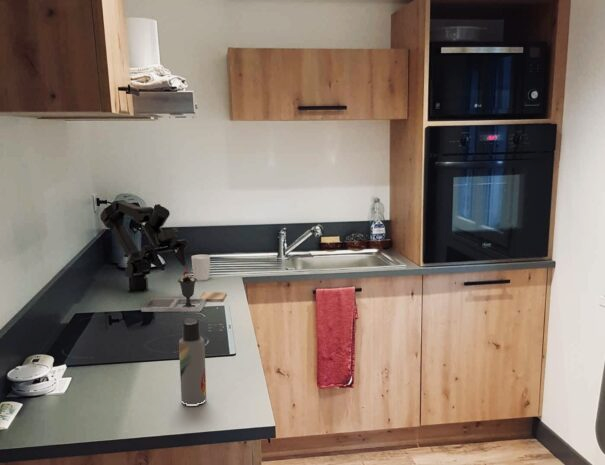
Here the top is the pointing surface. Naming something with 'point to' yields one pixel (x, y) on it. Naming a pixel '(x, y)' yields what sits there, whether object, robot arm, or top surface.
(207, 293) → the coaster
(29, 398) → the top surface
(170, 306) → the divided tray
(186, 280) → the sundae
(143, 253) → the robot arm
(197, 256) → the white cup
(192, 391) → the lotion bottle
